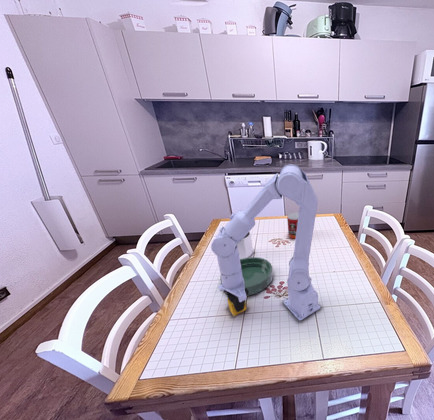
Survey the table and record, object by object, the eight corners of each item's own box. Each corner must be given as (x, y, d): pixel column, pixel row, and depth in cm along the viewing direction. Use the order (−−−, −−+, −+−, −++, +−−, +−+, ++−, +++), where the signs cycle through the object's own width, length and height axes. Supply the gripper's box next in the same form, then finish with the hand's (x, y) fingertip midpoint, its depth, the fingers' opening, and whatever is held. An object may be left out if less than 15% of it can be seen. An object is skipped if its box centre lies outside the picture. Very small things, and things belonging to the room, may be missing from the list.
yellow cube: (246, 309, 73) (244, 299, 72) (233, 316, 71) (231, 306, 69) (241, 302, 76) (239, 292, 74) (229, 308, 74) (227, 298, 72)
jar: (255, 255, 101) (252, 230, 96) (236, 262, 96) (232, 236, 92) (247, 246, 107) (244, 223, 103) (229, 252, 102) (225, 228, 98)
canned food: (285, 238, 115) (284, 217, 110) (292, 230, 122) (291, 211, 117) (300, 240, 112) (299, 219, 108) (306, 232, 120) (306, 213, 115)
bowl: (281, 282, 85) (280, 273, 84) (232, 305, 75) (231, 296, 73) (260, 260, 97) (259, 252, 96) (215, 278, 87) (213, 269, 85)
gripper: (208, 263, 71) (216, 298, 76) (225, 289, 60) (232, 327, 65) (232, 254, 75) (238, 288, 80) (251, 277, 64) (256, 314, 70)
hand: (237, 305), depth 73 cm, fingers closed on yellow cube, 4 cm apart
